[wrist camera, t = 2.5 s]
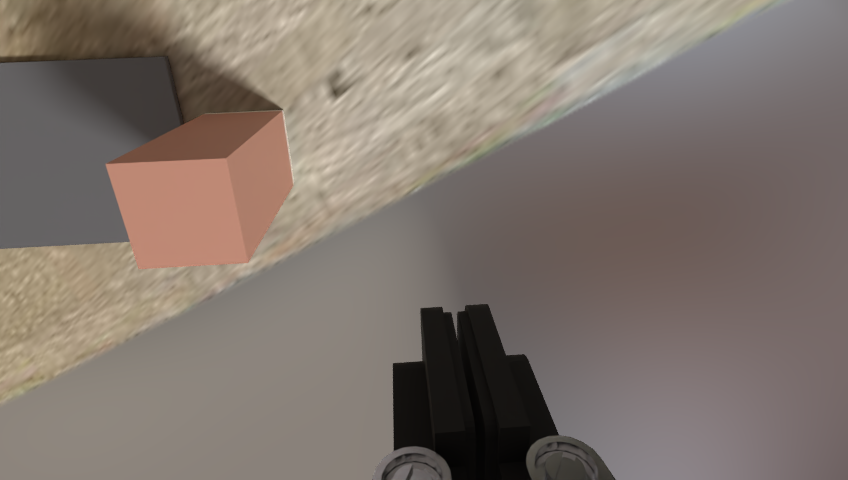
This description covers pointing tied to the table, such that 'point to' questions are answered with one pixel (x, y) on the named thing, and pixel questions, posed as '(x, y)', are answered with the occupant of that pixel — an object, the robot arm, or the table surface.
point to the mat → (74, 143)
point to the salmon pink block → (204, 189)
